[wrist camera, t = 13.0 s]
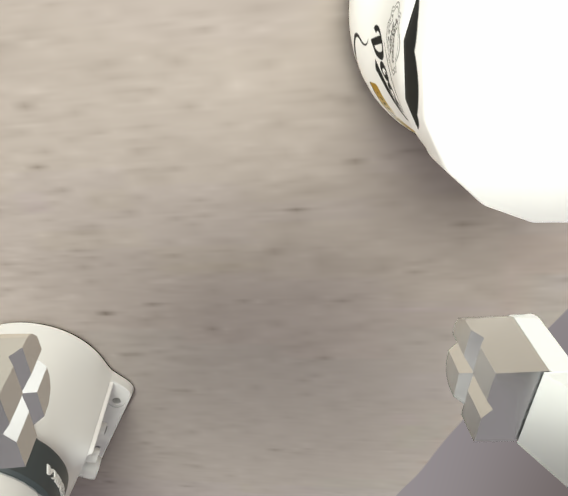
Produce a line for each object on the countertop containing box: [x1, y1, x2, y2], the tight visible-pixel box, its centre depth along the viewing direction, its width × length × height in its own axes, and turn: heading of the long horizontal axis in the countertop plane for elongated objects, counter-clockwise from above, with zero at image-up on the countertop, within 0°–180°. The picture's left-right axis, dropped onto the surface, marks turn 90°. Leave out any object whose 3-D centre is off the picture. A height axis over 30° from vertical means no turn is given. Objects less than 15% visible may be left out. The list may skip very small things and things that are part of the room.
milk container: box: [349, 0, 568, 223], centre depth 29 cm, size 17×17×18 cm
